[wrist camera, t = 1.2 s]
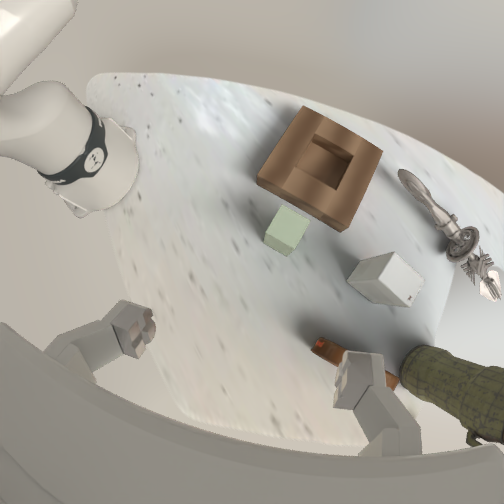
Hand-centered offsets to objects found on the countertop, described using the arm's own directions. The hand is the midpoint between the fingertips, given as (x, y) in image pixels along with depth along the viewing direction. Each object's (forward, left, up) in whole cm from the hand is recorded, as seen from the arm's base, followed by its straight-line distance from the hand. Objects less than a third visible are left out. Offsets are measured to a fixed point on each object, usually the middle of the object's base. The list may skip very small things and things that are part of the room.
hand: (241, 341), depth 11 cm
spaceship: (+27, +25, -31) cm, 48 cm away
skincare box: (+14, +11, -31) cm, 36 cm away
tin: (+18, -1, -31) cm, 36 cm away
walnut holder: (-1, +23, -30) cm, 38 cm away
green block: (-1, +10, -30) cm, 32 cm away
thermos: (+32, +3, -31) cm, 45 cm away
